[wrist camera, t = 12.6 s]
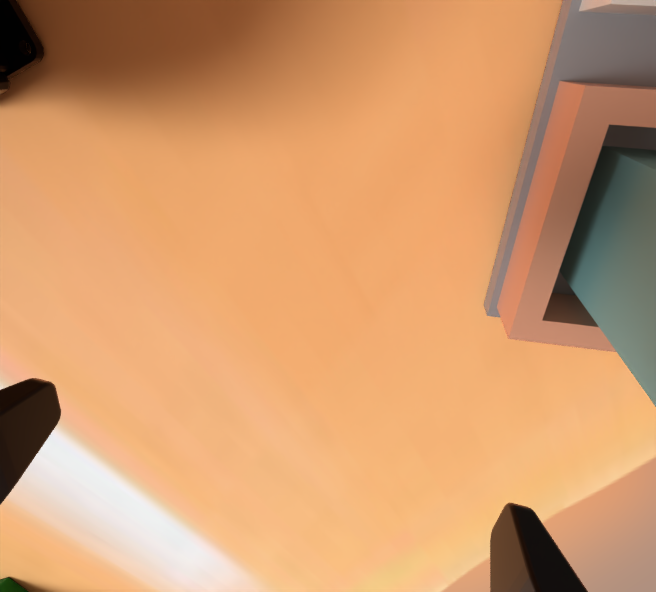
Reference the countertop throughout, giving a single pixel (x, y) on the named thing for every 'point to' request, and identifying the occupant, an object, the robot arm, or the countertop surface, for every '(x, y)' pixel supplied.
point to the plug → (619, 257)
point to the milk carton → (10, 586)
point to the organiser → (572, 162)
